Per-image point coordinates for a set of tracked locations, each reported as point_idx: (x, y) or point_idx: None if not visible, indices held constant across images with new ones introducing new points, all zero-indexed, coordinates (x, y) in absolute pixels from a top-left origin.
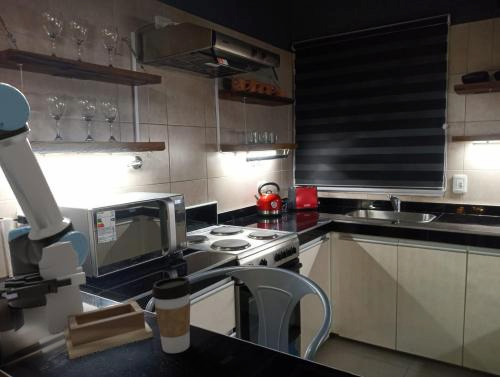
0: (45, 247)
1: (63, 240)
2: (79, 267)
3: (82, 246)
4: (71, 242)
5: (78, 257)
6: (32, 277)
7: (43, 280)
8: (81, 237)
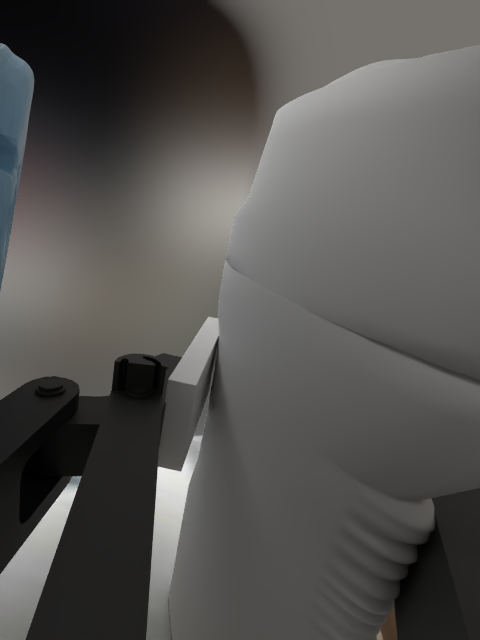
0: (473, 49)
1: (23, 92)
2: (206, 320)
3: (16, 193)
4: (23, 140)
5: (4, 260)
6: (130, 585)
7: (429, 519)
8: (26, 131)
